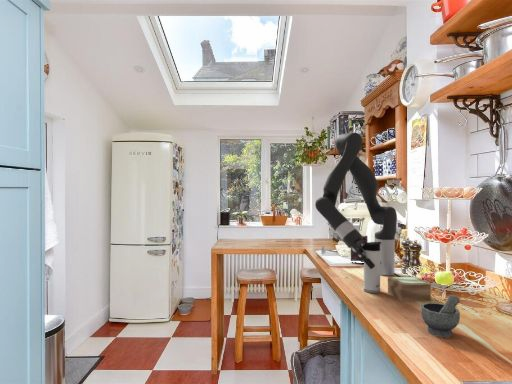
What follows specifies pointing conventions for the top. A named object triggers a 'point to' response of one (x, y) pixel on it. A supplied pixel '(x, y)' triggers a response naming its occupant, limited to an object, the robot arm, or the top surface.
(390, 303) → the top surface
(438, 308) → the mortar and pestle
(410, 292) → the block
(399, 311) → the top surface
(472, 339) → the top surface
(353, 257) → the supplement box
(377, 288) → the travel mug
